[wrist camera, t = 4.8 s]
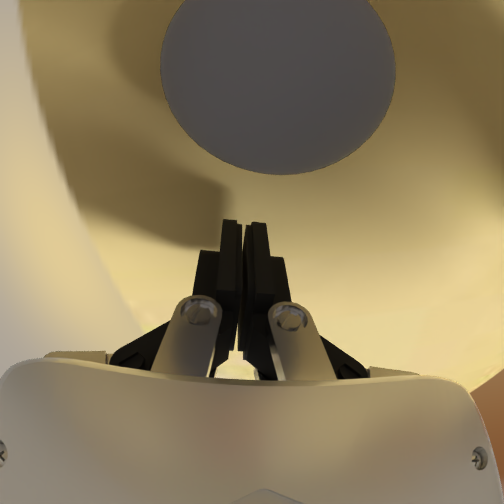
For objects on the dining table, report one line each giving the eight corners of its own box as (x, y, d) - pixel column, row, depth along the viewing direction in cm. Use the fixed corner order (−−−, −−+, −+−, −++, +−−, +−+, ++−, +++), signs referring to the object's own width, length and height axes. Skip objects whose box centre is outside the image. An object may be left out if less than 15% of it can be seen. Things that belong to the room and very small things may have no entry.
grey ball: (373, 101, 10) (472, 148, 5) (239, 168, 11) (238, 263, 7) (298, -31, 7) (353, -102, 2) (153, 44, 8) (67, 36, 4)
